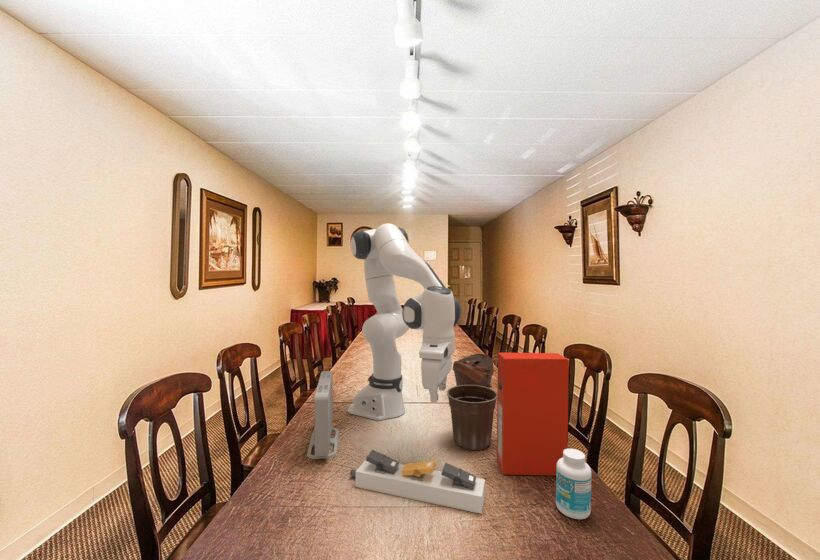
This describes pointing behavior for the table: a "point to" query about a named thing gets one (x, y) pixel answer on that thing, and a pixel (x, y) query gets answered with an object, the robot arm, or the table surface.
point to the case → (474, 370)
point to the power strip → (421, 487)
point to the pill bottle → (573, 485)
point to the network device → (323, 419)
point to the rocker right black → (459, 476)
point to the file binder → (531, 412)
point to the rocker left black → (382, 461)
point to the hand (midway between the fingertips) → (438, 395)
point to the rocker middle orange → (418, 468)
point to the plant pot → (472, 415)
